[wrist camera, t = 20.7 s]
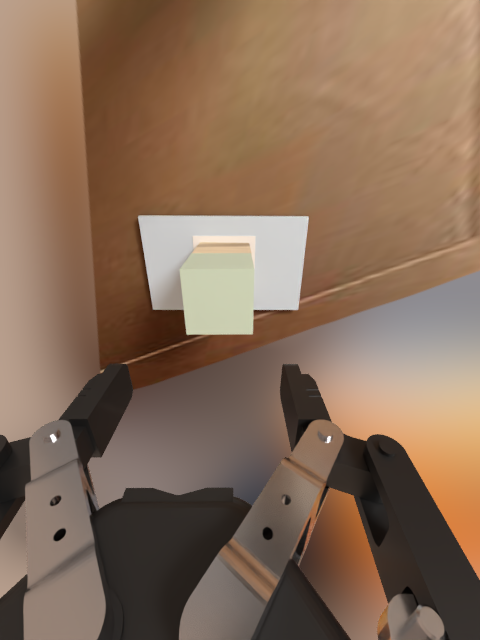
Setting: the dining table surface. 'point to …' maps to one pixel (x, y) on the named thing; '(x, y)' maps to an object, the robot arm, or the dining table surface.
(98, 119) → the dining table surface
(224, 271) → the sage block
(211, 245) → the maple block
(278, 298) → the white rectangular board
